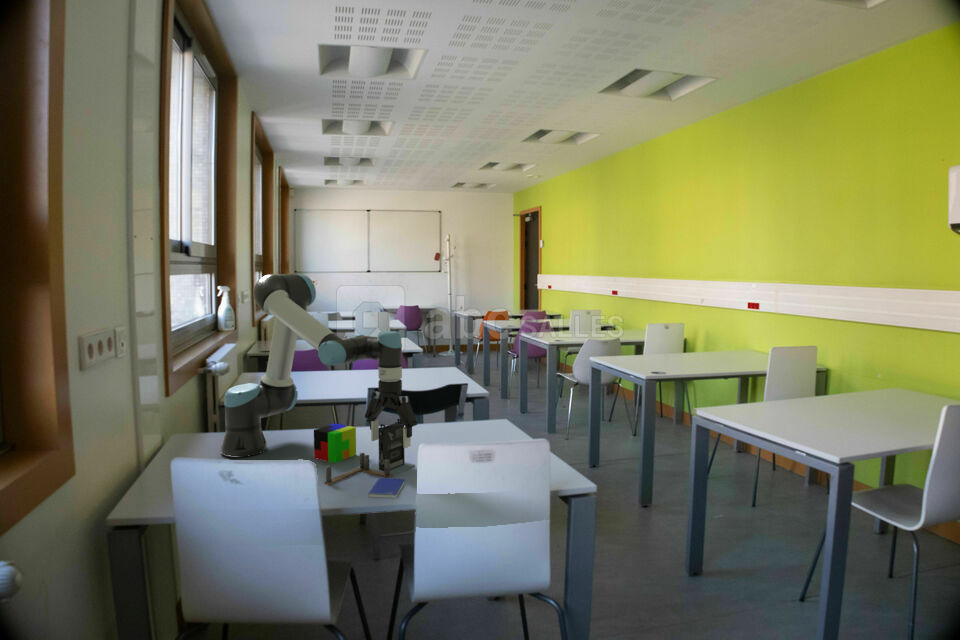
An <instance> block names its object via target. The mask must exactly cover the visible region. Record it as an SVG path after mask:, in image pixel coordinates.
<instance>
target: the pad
mask: <svg viewBox="0 0 960 640" xmlns="http://www.w3.org/2000/svg"><path fill="white" fill-rule="evenodd" d="M415 466H416V464H415V463H410V462H406V461H405V464H404V465H402V466H399V467H397V468H394V469H392V470H390V474H391V477H394V476H396V475H399V474H401V473H403V472H405V471H407V470H409V469H411V468H413V467H415ZM369 469H372V470H376V471H380V472H384V473H385V471H381V470H379V462H378V463H376V464H374V465H372V466H369Z"/></svg>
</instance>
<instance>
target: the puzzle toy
mask: <svg viewBox="0 0 960 640" xmlns="http://www.w3.org/2000/svg"><path fill="white" fill-rule="evenodd" d="M313 454H314V456H313V458H314V459H316V458H318V459H317V460H320V459H321V460H320V461H324V460H325V461H324V462H328V461H329V463H332V462H333V463H334V464H337V463H340V462H342V461H345V460H347V459H349V457H350V458H352V457H354V455H355V456H357V427H355V426H351V425H345V424H340V423H332V424H328V425H325V426H322V427H319V428H316V429H313ZM351 456H352V457H351ZM346 458H347V459H346ZM344 459H345V460H344ZM339 461H340V462H339ZM336 462H337V463H336Z"/></svg>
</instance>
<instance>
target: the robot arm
mask: <svg viewBox="0 0 960 640" xmlns="http://www.w3.org/2000/svg"><path fill="white" fill-rule="evenodd" d="M252 292H253V293H252V294H253V299H254V302H255V304H256V305H257V306H258V308H259V309H260V310H262V311H263V312H264V313H266V314H267V315H268V316H274V317H275V318H274V324H273V329H272V330H273V331H272V336H271V337H272V338H271V342H270V348H269V355H268V361H267V367H266V371H265V374H263V375H262V376H261V377H260V383H259V384H258V383H254V382H253V383H252V382H251V383H250V382H249V383H244V384H243V383H242V384H238V385H235V386H232V387H230V388H228V389H227V390H226V391H225V394H224V401H223V405H224V414H225V415H224V423H225V433H224V437H223V440H222V444H221V446H220V449H221V450H220V453H221V452H222V453H223V454H225V455H231V456H248V455H253V454H257V453H260V452H262V453H264V452H265V450H266V451H267V450H268V447H267V445H268V444H267V440H266V437H265V435H264V432H263V430H262V421H261V419H262V418H267V417H270V416H271V417H272V416H273V415H274V416H275V415H278V414H283V413H285V412H287V411H290V410H292V409H293V408H294V406H295V405H296V403H297V401H298V396H299V393H298V390H297V386H296V384H295V383H294V379H293V378H292V377H291V373H292V369H293V361H294V359H295V358H294V357H295V350H296V346H297V345H296V344H297V340H298V339H297V338H298V336H299V337H300V338H301V339H303V340H304V341H305V342H306V343H307V344H309V345H310V346H311V348H313V349H315V350H316V351H317V356H318V359H319V360H320V362H321V363H322V364H323V365H325V366H338V365H342V364H348V363H351V362H357V361H363V360H375V361H377V366H378V369H377V370H378V379H379V380H378V383H377V384H378V387H377V388H378V390H376V391H374V392H372V393H371V400H370V402H369V404H368V407H367V410H366V411H365V414H364V418H365V419H368V420H369V430H370V433H371V435H370V438H371V442H375V441H376V440H378V441H379V433H378V428H380V427H379V419H378V417H379V416H380V414H381V413H382V412H383V410H384V409H387V408H389V409H391V410H392V409H393V411H395V412H396V413H397V415H398V417H399V419H401V420H402V423H403V424H404V428H403V448H404V449H406V448H409V447H411V443H412V442H411V441H412V440H411V437H412V436H413V427H415V426H418V421H417V419H416V416H415V413H414V411H413V407H412V405H411V402H410V396H409V395H404V396H402V394H401V393H402V390H403V381H402V378H403V365H402V364H403V363H402V351H403V350H402V349H403V344H402V334H401V333H400V332H399V331H394V330H392V331H391V330H390V331H389V330H388V331H387V330H386V331H380V332H378V333H377V336H369V335H364V334H360V335H353V336H351V337H350V338H341V337H340V336H338V335H337V334H336V333H335V332H333V331H332V330H331V329H329V328H328V327H327V326H325V325H324V324H323V323H321V322H320V321H319V320H318V319H317V318H315V317H314V316H313V315H311V314H310V313H309V312H308V311H307V307H309V306H311V305H312V304H313V303H314V302H315V300H316V297H317V292H316V287H315V284H314V282H313V280H312V279H311V278H310V277H309V276H307V275H306V274H300V273H299V274H298V273H281V274H280V273H278V274H277V273H276V274H275V273H274V274H273V273H271V274H266V275H264V276H262V277H260V278H259V280H257V282H256V283H255V284H254V287H253V291H252ZM379 400H380V401H379ZM263 451H264V452H263ZM260 454H261V453H260ZM257 455H258V454H257ZM253 456H254V455H253ZM248 457H249V456H248Z"/></svg>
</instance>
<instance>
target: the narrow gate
mask: <svg viewBox="0 0 960 640" xmlns="http://www.w3.org/2000/svg"><path fill="white" fill-rule="evenodd" d="M369 467H370V455H369V454H365V455H364V470H363V471H362V473H364V472H365V473H364V474H368V475H372V476H376V477H379V478H392V476H391V474H390V460H389V459H386V460H385V473H384V472H380V471H376V470H372V469H369Z"/></svg>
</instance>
